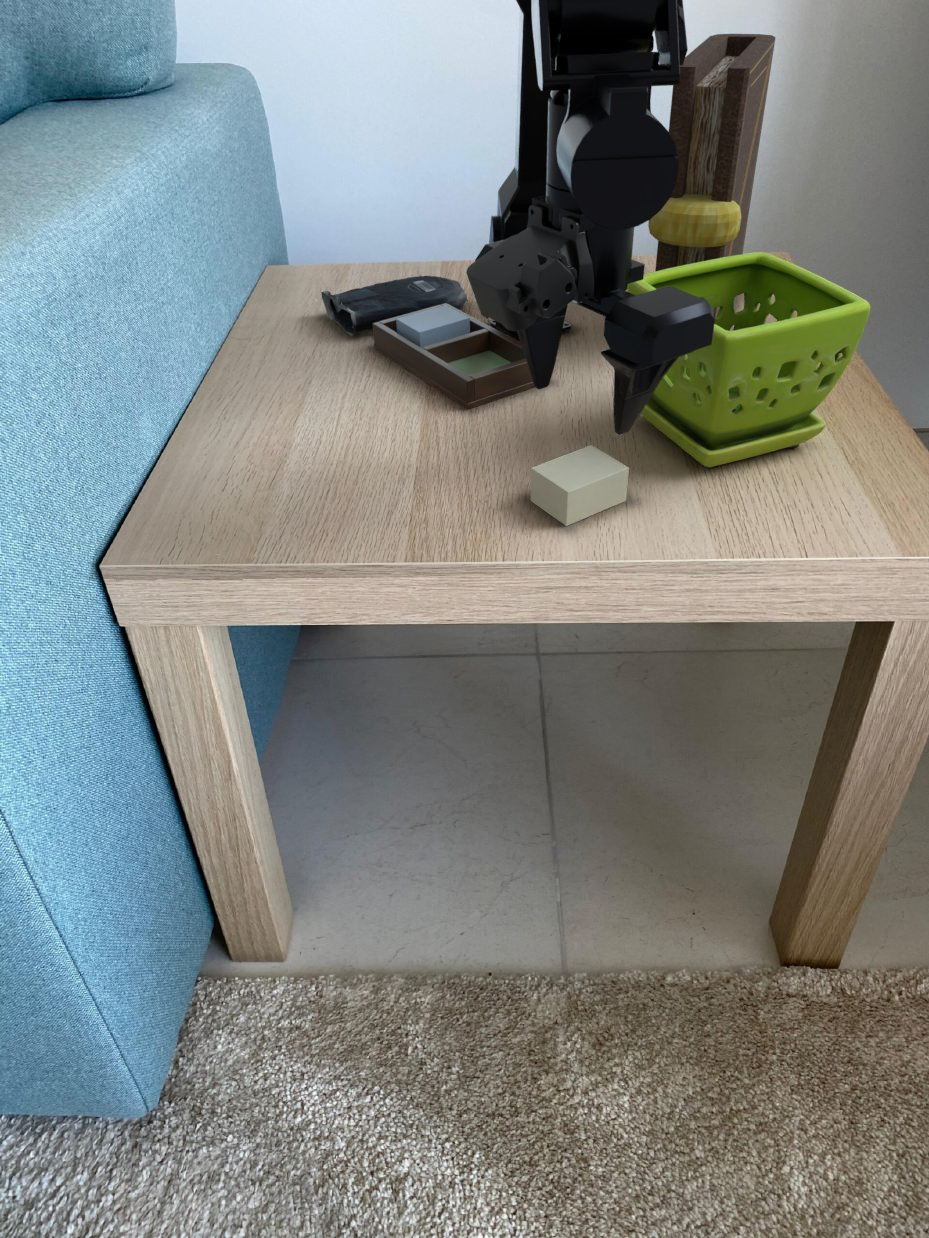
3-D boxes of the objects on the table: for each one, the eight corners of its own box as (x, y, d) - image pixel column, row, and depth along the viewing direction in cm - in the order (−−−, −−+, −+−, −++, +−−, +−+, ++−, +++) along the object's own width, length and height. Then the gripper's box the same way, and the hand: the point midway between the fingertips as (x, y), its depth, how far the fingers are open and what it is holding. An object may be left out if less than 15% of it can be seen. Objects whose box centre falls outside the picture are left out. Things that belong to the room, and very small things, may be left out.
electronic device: (360, 356, 99) (482, 309, 103) (345, 305, 96) (471, 258, 100) (331, 338, 107) (446, 294, 111) (316, 290, 104) (435, 247, 107)
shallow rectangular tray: (447, 328, 101) (446, 302, 100) (546, 383, 90) (546, 355, 88) (374, 349, 97) (371, 323, 96) (467, 409, 86) (467, 381, 84)
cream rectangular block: (589, 477, 76) (591, 444, 74) (626, 501, 73) (629, 467, 71) (530, 501, 74) (530, 467, 72) (566, 526, 71) (567, 492, 69)
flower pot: (612, 416, 84) (622, 274, 76) (740, 386, 88) (764, 248, 80) (701, 489, 74) (725, 334, 66) (842, 451, 78) (881, 300, 70)
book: (675, 281, 110) (702, 33, 94) (748, 288, 108) (789, 34, 92) (630, 354, 94) (654, 71, 79) (716, 365, 92) (758, 75, 76)
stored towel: (446, 333, 99) (445, 304, 97) (470, 346, 96) (469, 317, 94) (397, 347, 96) (395, 318, 94) (421, 361, 93) (419, 332, 91)
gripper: (405, 174, 61) (419, 394, 71) (588, 244, 49) (575, 498, 59) (540, 147, 66) (536, 357, 76) (737, 204, 54) (702, 446, 64)
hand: (580, 409), depth 68 cm, fingers open, 9 cm apart
